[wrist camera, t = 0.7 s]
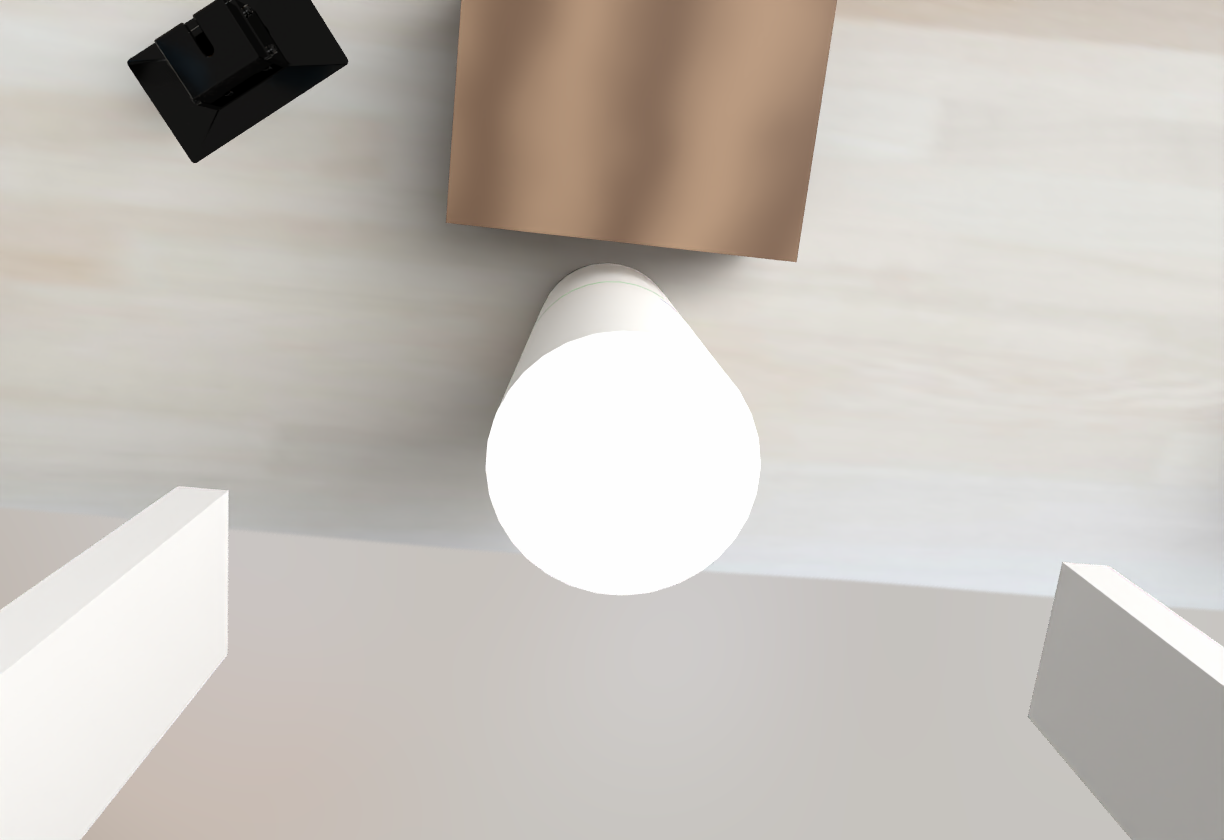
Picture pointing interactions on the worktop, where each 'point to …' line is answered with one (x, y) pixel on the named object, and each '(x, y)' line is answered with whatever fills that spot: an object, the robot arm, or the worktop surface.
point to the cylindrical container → (620, 441)
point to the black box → (235, 68)
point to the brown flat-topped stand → (640, 120)
